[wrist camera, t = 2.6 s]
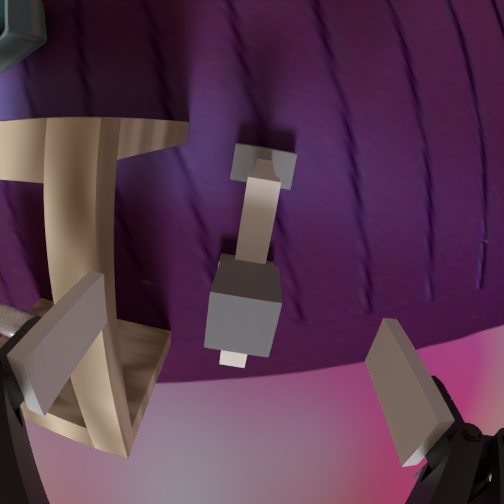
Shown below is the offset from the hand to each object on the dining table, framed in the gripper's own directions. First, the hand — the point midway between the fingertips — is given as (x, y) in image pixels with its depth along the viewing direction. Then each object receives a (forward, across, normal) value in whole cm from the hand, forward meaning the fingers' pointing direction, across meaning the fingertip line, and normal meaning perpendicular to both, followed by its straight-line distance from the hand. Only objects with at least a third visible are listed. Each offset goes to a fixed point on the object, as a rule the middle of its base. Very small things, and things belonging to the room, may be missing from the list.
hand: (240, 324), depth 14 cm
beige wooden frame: (+16, -16, -4) cm, 23 cm away
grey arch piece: (+16, 0, 0) cm, 16 cm away
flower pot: (+16, -28, +18) cm, 37 cm away
